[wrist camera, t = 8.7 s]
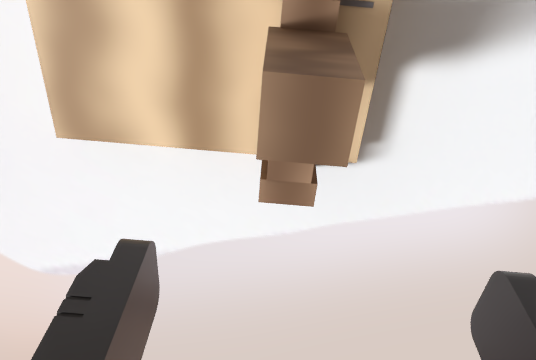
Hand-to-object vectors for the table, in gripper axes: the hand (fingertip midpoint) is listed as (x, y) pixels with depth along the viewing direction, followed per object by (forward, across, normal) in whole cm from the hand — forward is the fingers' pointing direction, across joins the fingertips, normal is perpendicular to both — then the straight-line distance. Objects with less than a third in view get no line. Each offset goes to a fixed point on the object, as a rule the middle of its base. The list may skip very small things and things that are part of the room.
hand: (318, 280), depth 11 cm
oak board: (+20, +6, 0) cm, 21 cm away
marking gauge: (+20, 0, +3) cm, 20 cm away
